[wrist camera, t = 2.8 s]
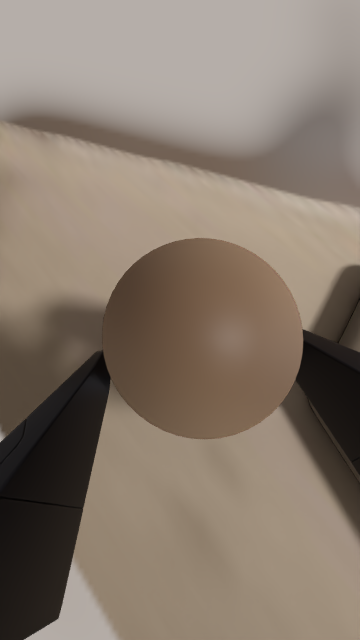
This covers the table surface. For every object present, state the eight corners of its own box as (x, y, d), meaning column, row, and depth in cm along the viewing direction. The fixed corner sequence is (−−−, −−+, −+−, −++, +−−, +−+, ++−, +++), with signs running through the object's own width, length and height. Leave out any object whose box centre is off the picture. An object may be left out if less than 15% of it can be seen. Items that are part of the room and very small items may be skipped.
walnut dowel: (198, 369, 16) (269, 478, 3) (158, 352, 16) (66, 386, 3) (212, 329, 16) (324, 275, 4) (174, 314, 17) (150, 214, 4)
